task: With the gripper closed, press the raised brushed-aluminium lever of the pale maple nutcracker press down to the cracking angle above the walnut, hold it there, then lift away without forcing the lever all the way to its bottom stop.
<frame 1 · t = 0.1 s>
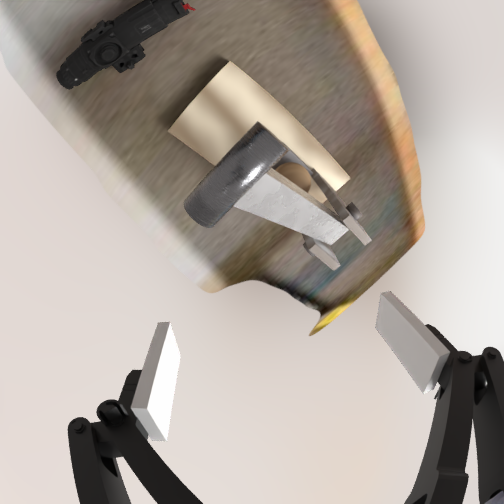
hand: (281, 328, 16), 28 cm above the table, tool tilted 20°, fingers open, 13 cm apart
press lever: (298, 210, 24), point 17 cm above the table, hinge at 30.0°
night vision scope: (130, 38, 24), on the table
press base: (264, 148, 37), on the table
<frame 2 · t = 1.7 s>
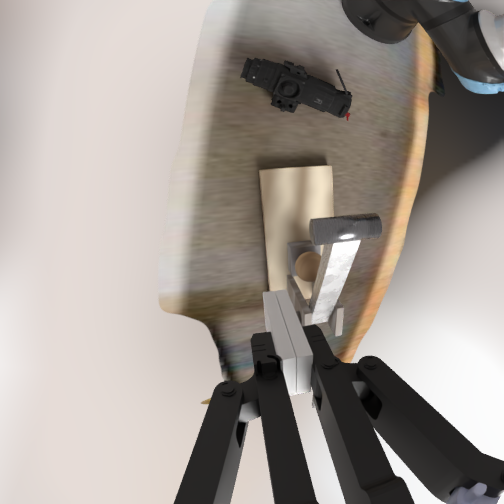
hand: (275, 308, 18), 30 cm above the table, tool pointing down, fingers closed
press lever: (330, 280, 33), point 17 cm above the table, hinge at 30.0°
night vision scope: (293, 91, 40), on the table
press base: (298, 234, 49), on the table
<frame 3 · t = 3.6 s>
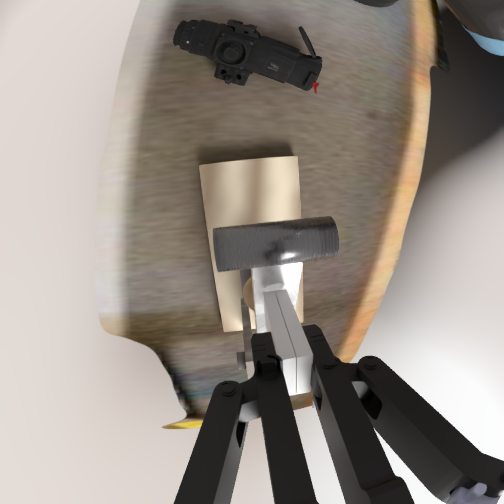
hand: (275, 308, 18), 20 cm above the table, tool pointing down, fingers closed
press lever: (273, 318, 23), point 16 cm above the table, hinge at 26.7°, touching gripper
night vision scope: (247, 61, 29), on the table
press base: (255, 247, 38), on the table
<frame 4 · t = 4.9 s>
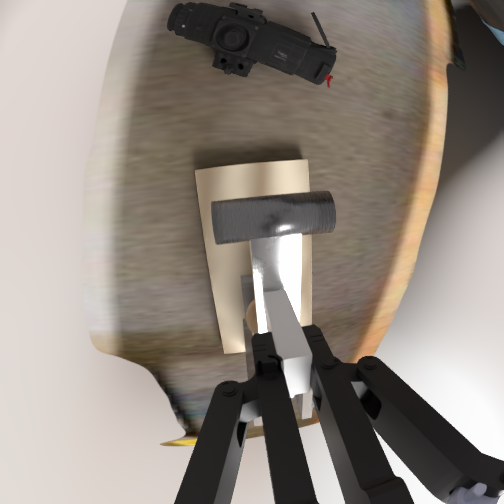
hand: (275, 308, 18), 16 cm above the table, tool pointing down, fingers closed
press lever: (277, 325, 21), point 14 cm above the table, hinge at 10.0°, touching gripper
night vision scope: (251, 50, 25), on the table
press base: (259, 262, 34), on the table
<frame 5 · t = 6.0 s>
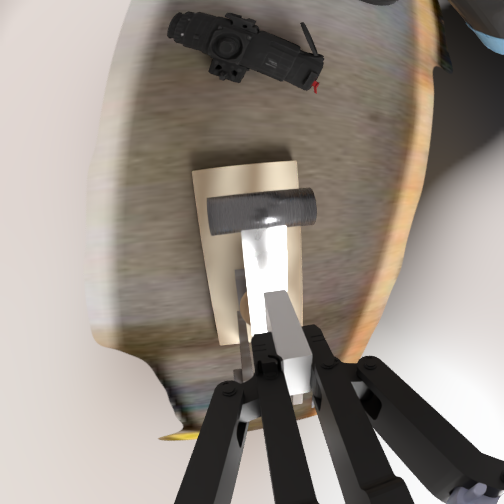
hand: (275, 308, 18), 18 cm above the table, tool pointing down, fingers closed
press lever: (267, 311, 23), point 14 cm above the table, hinge at 10.0°
night vision scope: (245, 57, 27), on the table
press base: (252, 257, 36), on the table
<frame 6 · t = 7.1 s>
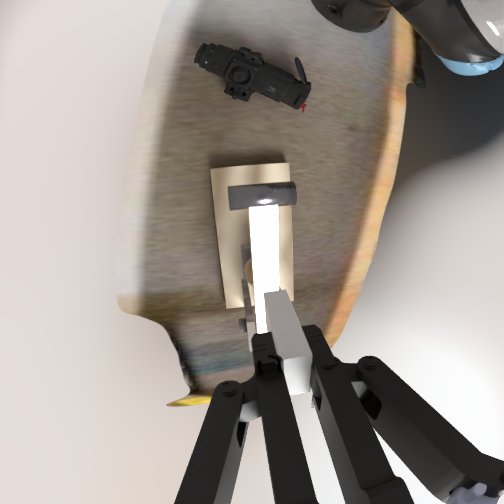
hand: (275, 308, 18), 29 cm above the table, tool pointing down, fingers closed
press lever: (264, 267, 34), point 14 cm above the table, hinge at 10.0°
night vision scope: (252, 80, 38), on the table
press base: (254, 236, 46), on the table
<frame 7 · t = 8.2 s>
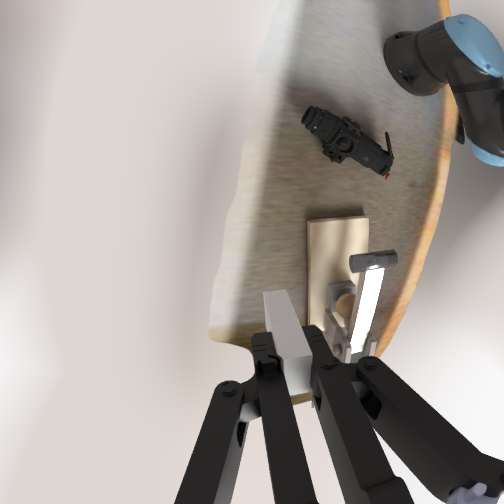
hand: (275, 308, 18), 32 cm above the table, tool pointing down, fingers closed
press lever: (363, 308, 42), point 14 cm above the table, hinge at 10.0°
night vision scope: (341, 141, 46), on the table
press base: (335, 275, 54), on the table
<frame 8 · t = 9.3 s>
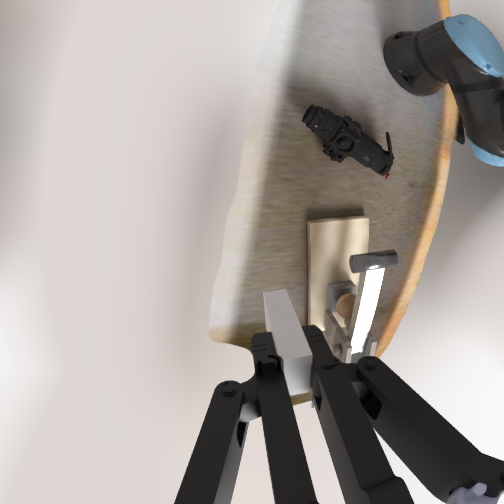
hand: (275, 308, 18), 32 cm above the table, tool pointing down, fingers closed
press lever: (364, 308, 42), point 14 cm above the table, hinge at 10.0°
night vision scope: (342, 141, 46), on the table
press base: (336, 275, 54), on the table
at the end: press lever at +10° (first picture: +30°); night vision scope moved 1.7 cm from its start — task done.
